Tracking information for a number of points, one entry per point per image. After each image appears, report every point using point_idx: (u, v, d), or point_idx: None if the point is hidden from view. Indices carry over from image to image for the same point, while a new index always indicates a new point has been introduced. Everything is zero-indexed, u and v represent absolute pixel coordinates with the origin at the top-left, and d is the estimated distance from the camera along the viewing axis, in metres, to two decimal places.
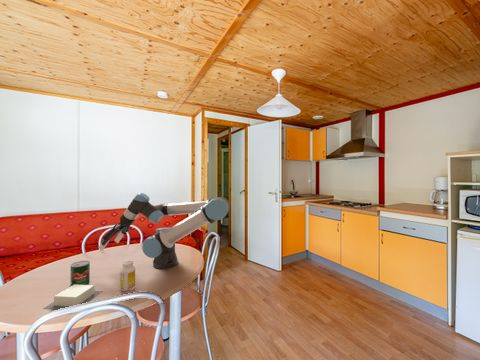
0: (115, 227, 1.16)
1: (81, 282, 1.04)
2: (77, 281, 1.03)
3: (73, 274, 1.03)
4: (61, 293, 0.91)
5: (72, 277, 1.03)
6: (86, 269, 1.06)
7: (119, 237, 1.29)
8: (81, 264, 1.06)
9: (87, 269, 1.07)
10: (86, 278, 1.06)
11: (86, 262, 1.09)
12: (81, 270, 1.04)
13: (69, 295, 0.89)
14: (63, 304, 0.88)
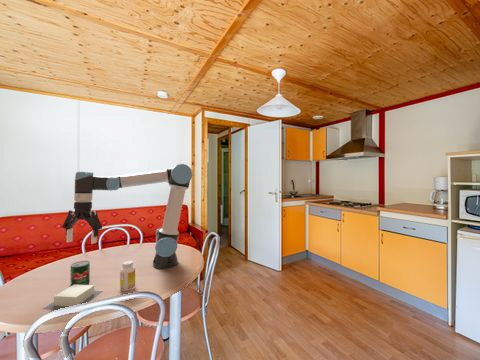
0: (95, 214, 1.07)
1: (81, 282, 1.04)
2: (77, 281, 1.03)
3: (73, 274, 1.03)
4: (61, 293, 0.91)
5: (72, 277, 1.03)
6: (86, 269, 1.06)
7: (70, 234, 1.08)
8: (81, 264, 1.06)
9: (87, 269, 1.07)
10: (86, 278, 1.06)
11: (86, 262, 1.09)
12: (81, 270, 1.04)
13: (69, 295, 0.89)
14: (63, 304, 0.88)
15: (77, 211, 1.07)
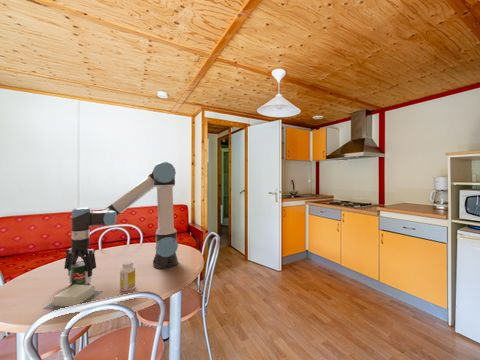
0: (92, 253, 1.06)
1: (81, 282, 1.04)
2: (77, 281, 1.03)
3: (73, 274, 1.03)
4: (61, 293, 0.91)
5: (72, 277, 1.03)
6: (86, 269, 1.06)
7: None
8: (81, 264, 1.06)
9: None
10: None
11: None
12: (81, 270, 1.04)
13: (69, 295, 0.89)
14: (63, 304, 0.88)
15: (74, 248, 1.06)
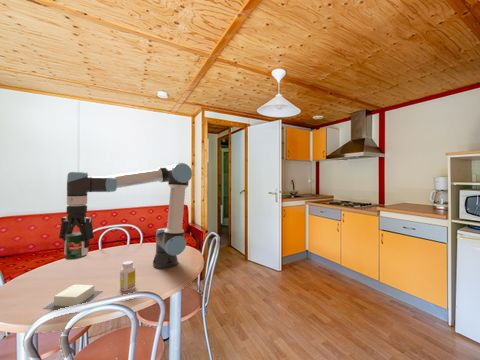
0: (89, 221, 0.96)
1: (77, 253, 0.94)
2: (72, 251, 0.93)
3: (68, 244, 0.93)
4: (61, 293, 0.91)
5: (67, 247, 0.93)
6: (82, 239, 0.96)
7: None
8: (77, 234, 0.96)
9: None
10: None
11: None
12: (77, 240, 0.94)
13: (69, 295, 0.89)
14: (63, 304, 0.88)
15: (70, 215, 0.96)
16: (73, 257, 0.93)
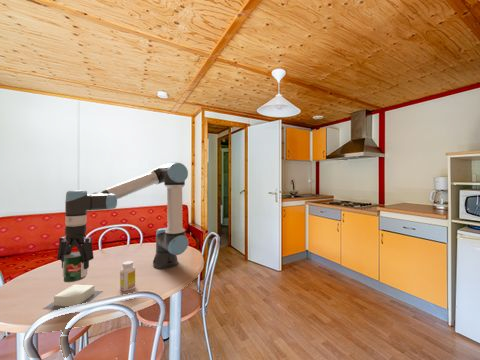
0: (89, 241, 0.93)
1: (76, 274, 0.90)
2: (71, 273, 0.89)
3: (67, 265, 0.89)
4: (61, 293, 0.91)
5: (66, 269, 0.89)
6: (82, 260, 0.92)
7: None
8: (76, 254, 0.93)
9: None
10: None
11: None
12: (76, 261, 0.90)
13: (69, 295, 0.89)
14: (63, 304, 0.88)
15: (68, 236, 0.92)
16: (72, 280, 0.90)
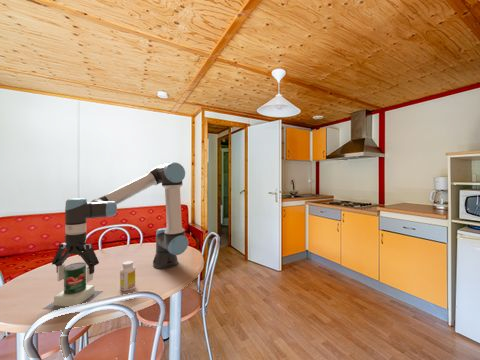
0: (90, 247, 0.93)
1: (76, 287, 0.90)
2: (71, 286, 0.89)
3: (67, 278, 0.89)
4: (61, 293, 0.91)
5: (66, 282, 0.89)
6: (82, 272, 0.92)
7: (62, 271, 0.94)
8: (76, 267, 0.93)
9: (83, 272, 0.93)
10: (82, 283, 0.92)
11: (82, 264, 0.95)
12: (76, 274, 0.90)
13: (69, 295, 0.89)
14: (63, 304, 0.88)
15: (69, 245, 0.92)
16: (72, 292, 0.90)
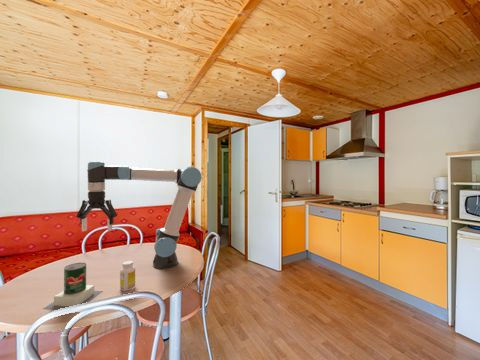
0: (109, 202, 1.10)
1: (76, 287, 0.90)
2: (71, 286, 0.90)
3: (67, 278, 0.89)
4: (61, 293, 0.91)
5: (66, 282, 0.89)
6: (82, 272, 0.92)
7: (85, 223, 1.11)
8: (76, 267, 0.93)
9: (83, 272, 0.93)
10: (82, 283, 0.92)
11: (82, 264, 0.95)
12: (76, 274, 0.90)
13: (69, 295, 0.89)
14: (63, 304, 0.88)
15: (91, 200, 1.09)
16: (72, 292, 0.90)
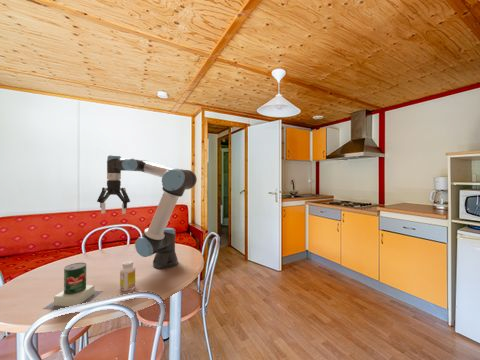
0: (124, 190, 1.31)
1: (76, 287, 0.90)
2: (71, 286, 0.90)
3: (67, 278, 0.89)
4: (61, 293, 0.91)
5: (66, 282, 0.89)
6: (82, 272, 0.92)
7: (104, 207, 1.32)
8: (76, 267, 0.93)
9: (83, 272, 0.93)
10: (82, 283, 0.92)
11: (82, 264, 0.95)
12: (76, 274, 0.90)
13: (69, 295, 0.89)
14: (63, 304, 0.88)
15: (109, 188, 1.31)
16: (72, 292, 0.90)
